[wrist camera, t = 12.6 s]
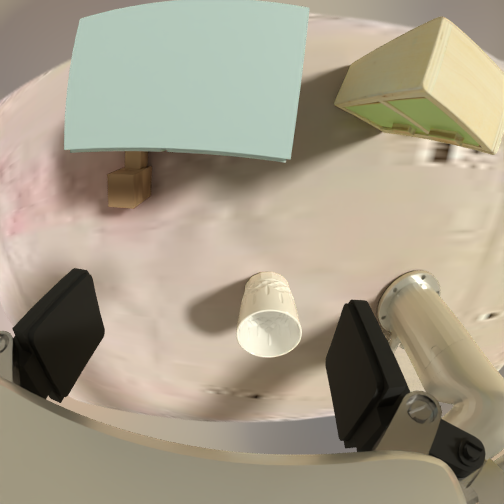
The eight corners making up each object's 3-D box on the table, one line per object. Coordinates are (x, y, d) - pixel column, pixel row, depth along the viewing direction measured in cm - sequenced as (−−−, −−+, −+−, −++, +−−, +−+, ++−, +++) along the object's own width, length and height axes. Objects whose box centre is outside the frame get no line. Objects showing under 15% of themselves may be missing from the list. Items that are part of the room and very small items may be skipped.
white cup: (272, 319, 44) (274, 365, 35) (230, 295, 42) (223, 340, 33) (304, 285, 41) (315, 329, 32) (261, 257, 39) (261, 298, 30)
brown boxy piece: (151, 195, 36) (133, 208, 30) (128, 194, 35) (108, 206, 30) (156, 99, 30) (137, 96, 25) (132, 100, 30) (110, 98, 24)
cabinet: (273, 145, 33) (289, 164, 16) (148, 136, 32) (64, 153, 16) (284, 63, 28) (309, 8, 12) (157, 58, 27) (80, 18, 11)
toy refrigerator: (328, 109, 30) (417, 96, 11) (349, 62, 27) (443, 12, 8) (381, 138, 31) (495, 166, 13) (400, 93, 28) (516, 86, 10)
